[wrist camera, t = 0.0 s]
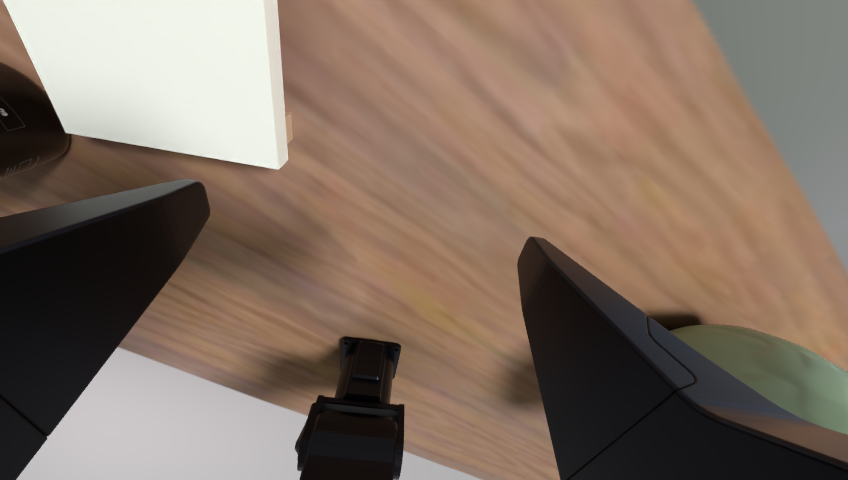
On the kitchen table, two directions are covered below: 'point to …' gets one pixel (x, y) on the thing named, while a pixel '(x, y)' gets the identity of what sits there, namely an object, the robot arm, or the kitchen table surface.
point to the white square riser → (164, 73)
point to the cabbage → (776, 371)
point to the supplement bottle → (27, 125)
